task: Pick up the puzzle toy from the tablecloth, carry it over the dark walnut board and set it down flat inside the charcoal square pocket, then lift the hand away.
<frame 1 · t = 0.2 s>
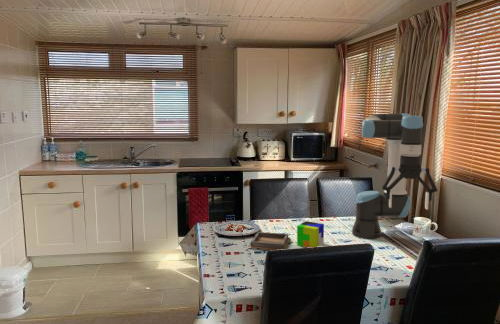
hand: (408, 207, 154), 28 cm above the table, tool pointing down, fingers open, 13 cm apart
puzzle toy: (310, 244, 193), on the table
ceramic plate: (237, 231, 215), on the table
pocket board: (269, 243, 194), on the table
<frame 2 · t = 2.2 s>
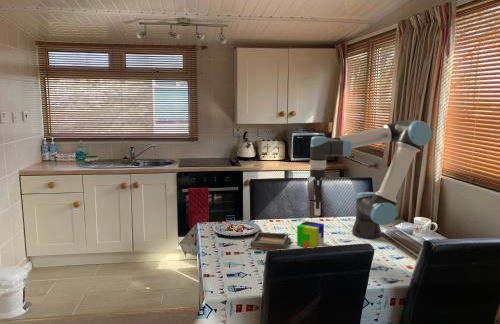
hand: (317, 211, 188), 18 cm above the table, tool pointing down, fingers open, 13 cm apart
nothing on the table moved.
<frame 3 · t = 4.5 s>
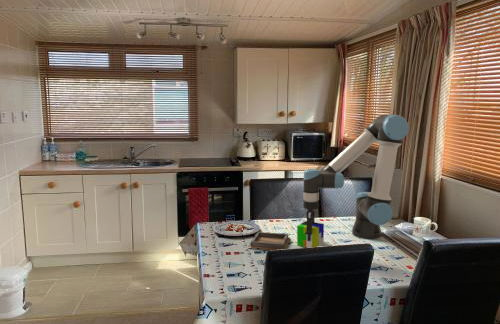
hand: (310, 242, 193), 1 cm above the table, tool pointing down, fingers closed on puzzle toy, 11 cm apart
puzzle toy: (310, 244, 193), on the table, touching gripper
everything else where it was.
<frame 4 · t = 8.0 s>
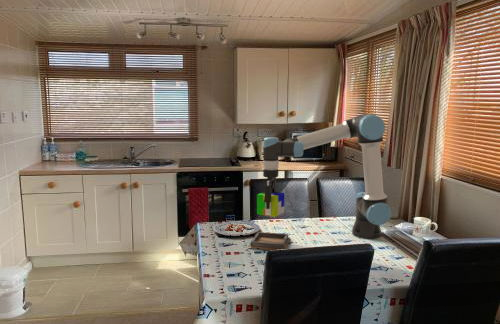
hand: (270, 211, 192), 17 cm above the table, tool pointing down, fingers closed on puzzle toy, 11 cm apart
puzzle toy: (270, 213, 192), point 16 cm above the table, touching gripper
everything else where it was.
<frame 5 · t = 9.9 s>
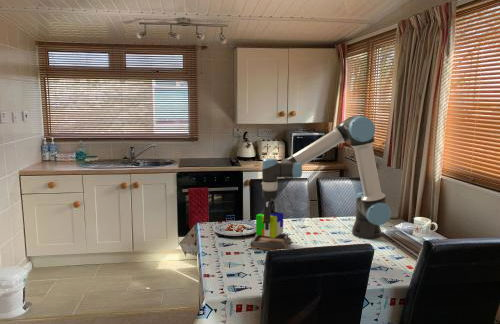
hand: (269, 232, 194), 6 cm above the table, tool pointing down, fingers closed on puzzle toy, 11 cm apart
puzzle toy: (269, 233, 194), point 5 cm above the table, touching gripper
everything else where it was.
when the fingers open (4 cm above the table, at t = 11.4 s): puzzle toy drops 2 cm, resting on pocket board.
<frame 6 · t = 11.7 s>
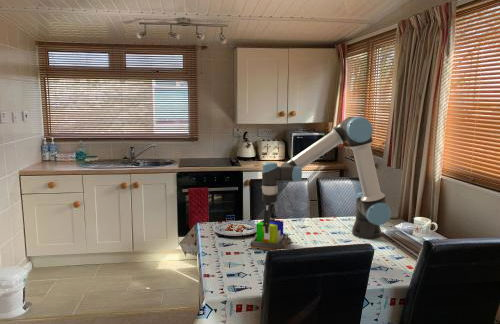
hand: (269, 234, 194), 5 cm above the table, tool pointing down, fingers open, 13 cm apart
puzzle toy: (270, 242, 194), point 1 cm above the table, touching pocket board
everything else where it was.
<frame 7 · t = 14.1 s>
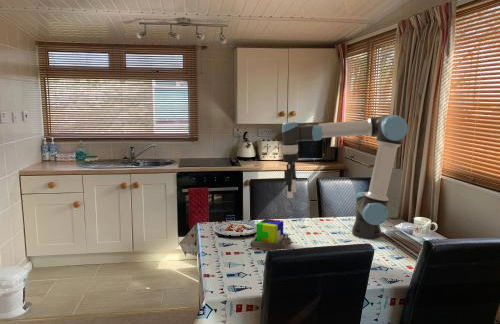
hand: (291, 194, 195), 24 cm above the table, tool pointing down, fingers open, 13 cm apart
nothing on the table moved.
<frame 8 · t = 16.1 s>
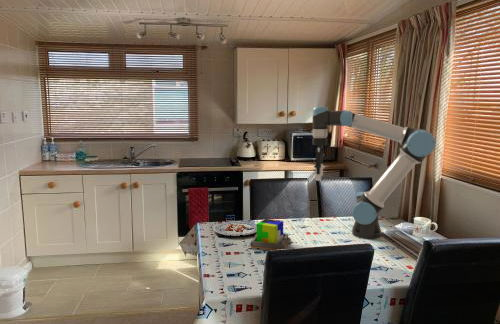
hand: (319, 178, 200), 32 cm above the table, tool pointing down, fingers open, 13 cm apart
nothing on the table moved.
at the end: puzzle toy 0.1 cm off-centre on the pocket board, point 0.8 cm above the pocket board's base; puzzle toy tilted 0°; the gripper is holding nothing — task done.
